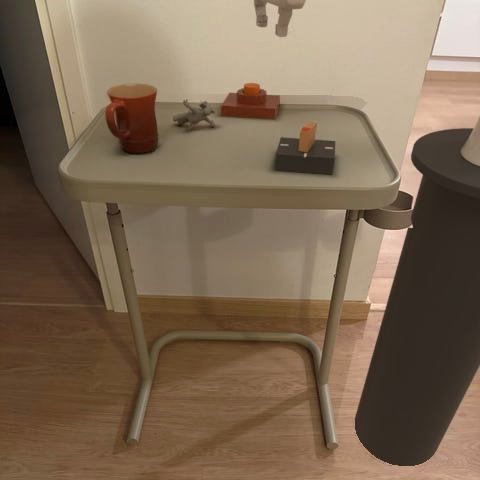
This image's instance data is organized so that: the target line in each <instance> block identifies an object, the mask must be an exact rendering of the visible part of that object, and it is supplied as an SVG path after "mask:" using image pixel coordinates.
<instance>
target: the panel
mask: <svg viewBox="0 0 480 480" xmlns="http://www.w3.org/2000/svg"><path fill="white" fill-rule="evenodd" d="M299 139H300V137H283V136H282V137H280V139H279V142H278V145H277V149H276V154H275V161H274V162H275V165H274V171H277V172H278V171H280V172H290V173H302V174H303V173H304V174H314V175H315V174H317V175H329V176H333V173H334V166H335V160H336V140H328V139H315V142H314V144H313V145H312V147H311V148H310V149H309V151H308V152H301V151H298V150H299Z"/></svg>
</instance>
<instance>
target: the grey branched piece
mask: <svg viewBox="0 0 480 480" xmlns="http://www.w3.org/2000/svg"><path fill="white" fill-rule="evenodd" d="M182 103H183V106H184V107H185V108H188V111H187V112H181V113H177V114H172V120H173V122H177V125H178V126H182V125H185V124H189V126H188V127H187V129H186V132H188V131H189V130H190V128H191V127H192V126H196V125H198V124H200V123H201V122H203V121H205V122H207V123H208V124H209V125H210V126H211V127H212V128H216V126H217V124H216V123H215V122H214V119H210V118H208V116H209V115H211V114H216V112H215V110H214V109H213V108H212V107H211V104H210V103H209V102H208V100H204V101H203V97H201V99H200V101H199V104H198V106H199V107H200V108H197V107H194V106H191V105H190V104H189V102H188V99H187V98H186V99H183V101H182Z"/></svg>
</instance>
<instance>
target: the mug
mask: <svg viewBox="0 0 480 480" xmlns="http://www.w3.org/2000/svg"><path fill="white" fill-rule="evenodd" d="M106 95H107V97H108V99H109V101H110V103H109V104H107V105H106V107H105V111H104V112H105V113H104V115H105V116H104V117H105V122H106V125H107V128H108V130H109V131H110V134H111V135H112V136H113V137H115V138H117V139H118V143H119V145H120V148H121V149H122V150H123V151H125V152H126V153H129V154H134V155H141V154H147V153H150V152H152V151H154V150H155V149H156V148H157V147H158V144H159V132H158V131H159V130H158V122H157V121H158V120H157V115H156V101H157V95H158V89H157V87H156V86H153V85H151V84H146V83H123V84H118V85H114V86H111V87H109V88H108V89H107V90H106Z"/></svg>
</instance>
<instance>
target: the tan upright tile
mask: <svg viewBox="0 0 480 480" xmlns="http://www.w3.org/2000/svg"><path fill="white" fill-rule="evenodd" d="M316 132H317V122H316V121H307V122H306V123H305V124H304V125H303V126H302V128H301V129H300V130H299V150H298V151H301V152H308V151H309V149H310V148H311V147H312V145H313V144H314V142H315V140H316V134H317V133H316Z"/></svg>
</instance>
